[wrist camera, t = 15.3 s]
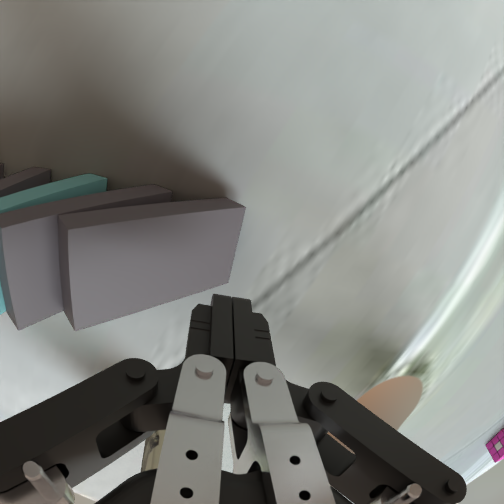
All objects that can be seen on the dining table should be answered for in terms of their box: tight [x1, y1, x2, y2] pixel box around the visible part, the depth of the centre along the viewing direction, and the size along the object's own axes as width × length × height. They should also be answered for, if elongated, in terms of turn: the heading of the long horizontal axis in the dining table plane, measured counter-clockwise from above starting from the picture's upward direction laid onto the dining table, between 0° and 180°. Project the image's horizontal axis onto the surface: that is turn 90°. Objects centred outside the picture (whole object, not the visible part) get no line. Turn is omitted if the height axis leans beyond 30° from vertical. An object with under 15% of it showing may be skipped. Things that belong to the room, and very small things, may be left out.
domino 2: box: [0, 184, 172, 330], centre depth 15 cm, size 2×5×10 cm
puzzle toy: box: [486, 429, 504, 462], centre depth 41 cm, size 6×6×6 cm
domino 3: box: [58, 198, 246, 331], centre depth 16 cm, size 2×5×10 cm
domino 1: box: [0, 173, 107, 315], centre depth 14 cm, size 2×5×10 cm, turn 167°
